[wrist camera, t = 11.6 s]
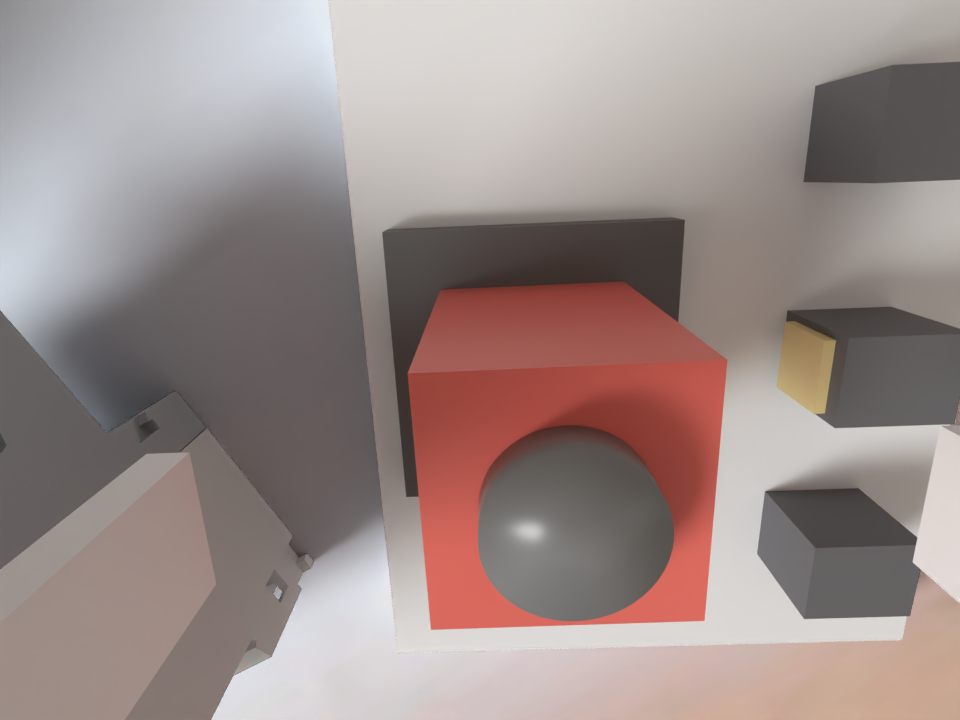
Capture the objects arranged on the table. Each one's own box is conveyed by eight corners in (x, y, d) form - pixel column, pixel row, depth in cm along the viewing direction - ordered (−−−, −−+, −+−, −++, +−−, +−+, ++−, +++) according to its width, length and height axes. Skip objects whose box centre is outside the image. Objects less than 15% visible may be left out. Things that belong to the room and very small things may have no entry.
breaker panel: (866, 600, 22) (969, 715, 18) (405, 613, 23) (383, 729, 18) (998, -66, 16) (1223, -171, 11) (341, -33, 16) (280, -121, 11)
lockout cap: (619, 447, 17) (726, 665, 10) (451, 454, 17) (425, 675, 10) (623, 281, 16) (756, 381, 8) (440, 289, 16) (398, 396, 8)
